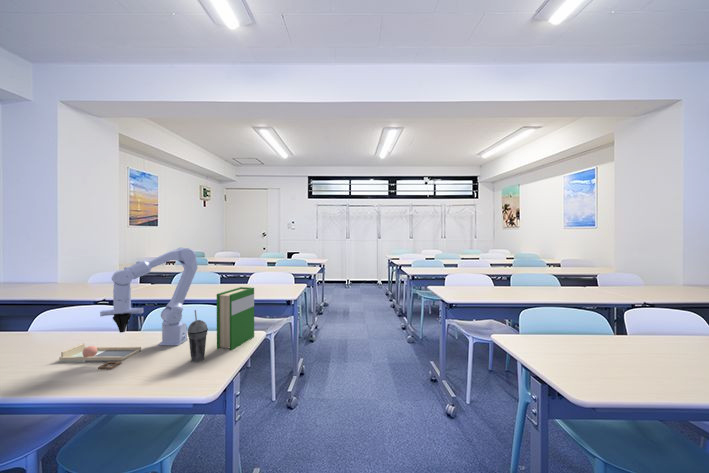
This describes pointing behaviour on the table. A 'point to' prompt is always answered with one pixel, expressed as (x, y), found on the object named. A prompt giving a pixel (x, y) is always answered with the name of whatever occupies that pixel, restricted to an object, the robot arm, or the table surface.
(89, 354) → the ball
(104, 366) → the open wooden square ring
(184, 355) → the table surface
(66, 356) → the tray
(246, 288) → the hardback book
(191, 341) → the beverage cup
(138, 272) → the robot arm
